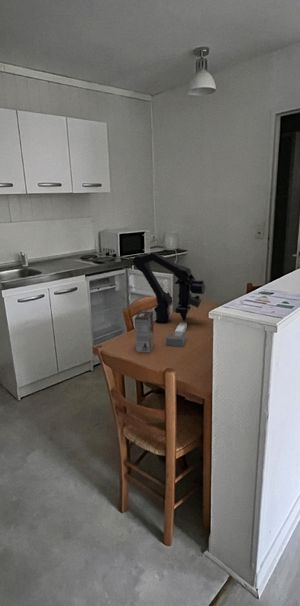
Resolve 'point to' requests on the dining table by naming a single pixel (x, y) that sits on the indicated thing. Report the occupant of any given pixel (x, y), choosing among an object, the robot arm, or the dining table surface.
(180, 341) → the end cap
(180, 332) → the slat
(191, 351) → the dining table surface
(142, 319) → the coffee box
